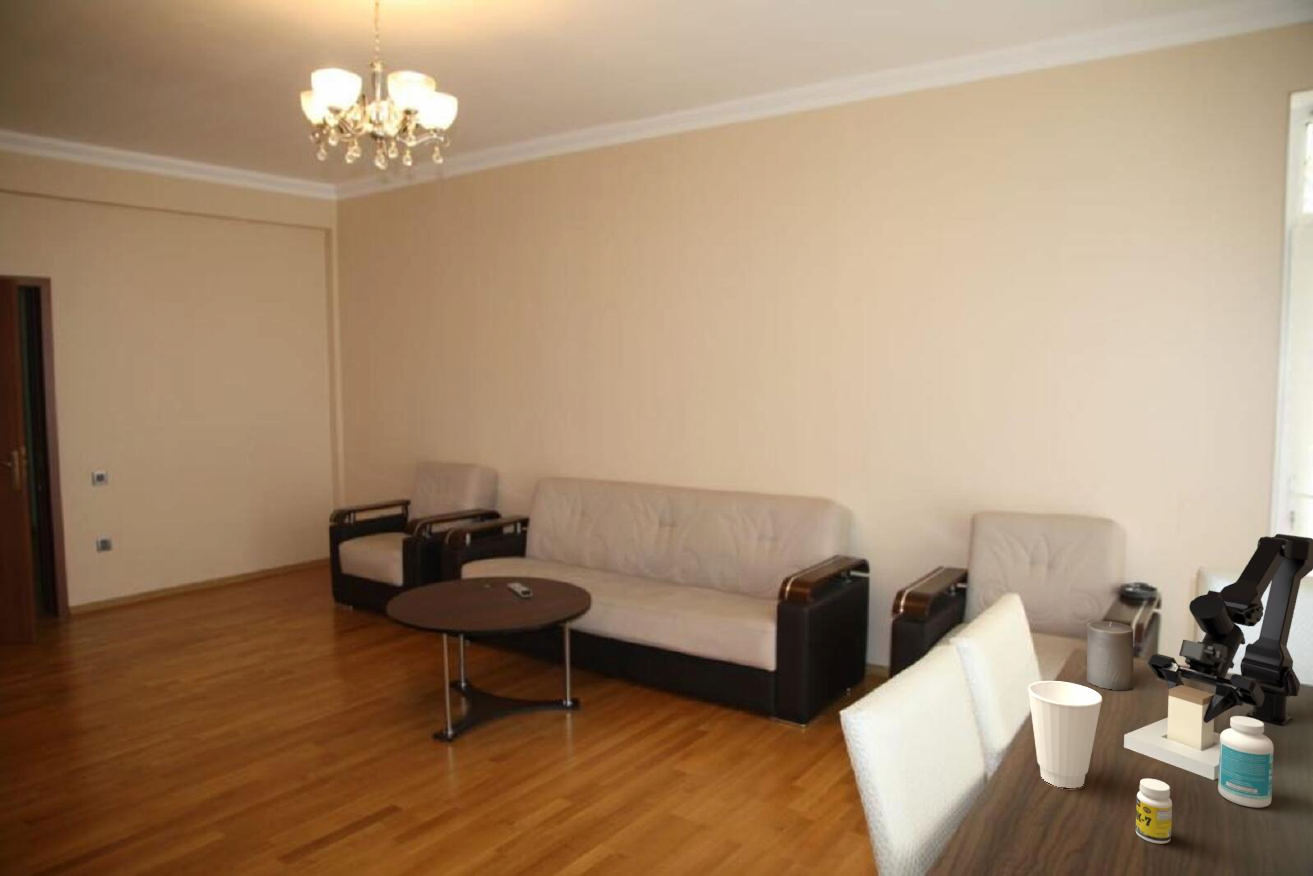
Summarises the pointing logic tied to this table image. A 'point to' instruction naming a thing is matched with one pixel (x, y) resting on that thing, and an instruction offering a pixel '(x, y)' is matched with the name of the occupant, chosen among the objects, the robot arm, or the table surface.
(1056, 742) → the cup
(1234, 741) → the pill bottle
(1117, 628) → the pillar candle
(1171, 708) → the tan topped cream pillar
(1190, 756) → the socket plate
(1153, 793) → the supplement bottle
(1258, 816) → the table surface
